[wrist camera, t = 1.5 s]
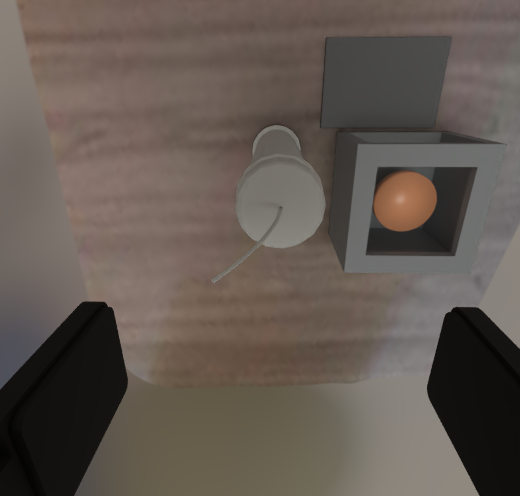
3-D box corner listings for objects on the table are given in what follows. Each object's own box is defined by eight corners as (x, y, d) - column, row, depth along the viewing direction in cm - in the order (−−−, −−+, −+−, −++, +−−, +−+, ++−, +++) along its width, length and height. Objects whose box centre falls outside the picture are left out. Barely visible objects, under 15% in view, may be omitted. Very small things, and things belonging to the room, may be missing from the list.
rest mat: (326, 38, 37) (326, 37, 36) (449, 37, 36) (451, 36, 36) (320, 127, 41) (321, 127, 40) (432, 127, 40) (434, 127, 40)
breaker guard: (337, 131, 41) (358, 144, 31) (448, 131, 40) (506, 144, 30) (328, 233, 46) (344, 272, 36) (426, 234, 46) (470, 273, 36)
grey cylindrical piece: (306, 157, 42) (368, 277, 15) (260, 180, 43) (241, 328, 16) (287, 114, 40) (318, 161, 13) (240, 139, 41) (177, 230, 14)
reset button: (371, 167, 38) (379, 172, 35) (430, 167, 38) (442, 173, 35) (364, 221, 40) (371, 231, 38) (419, 222, 40) (430, 231, 38)
